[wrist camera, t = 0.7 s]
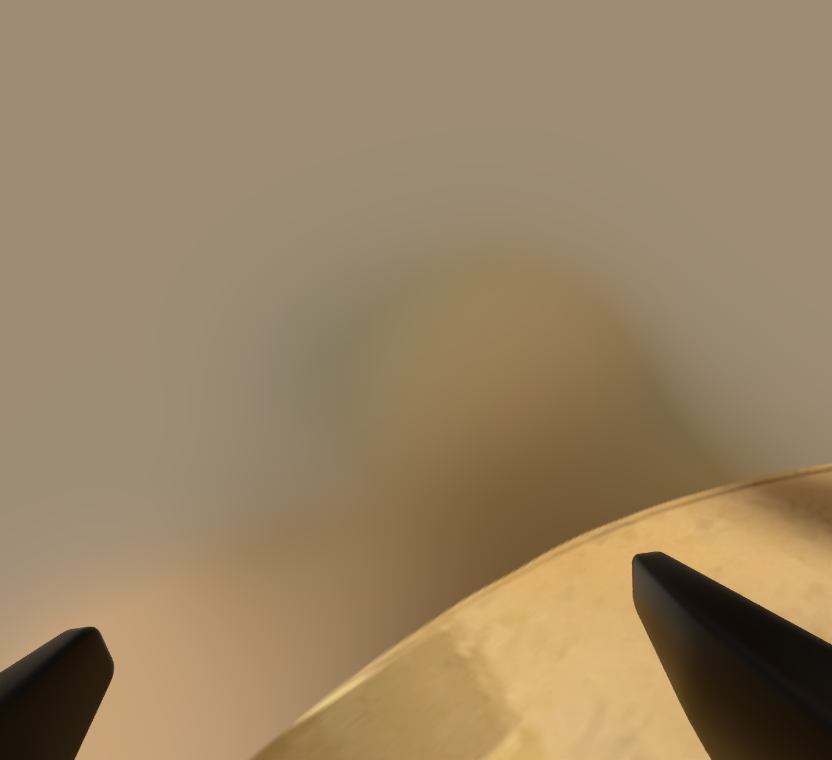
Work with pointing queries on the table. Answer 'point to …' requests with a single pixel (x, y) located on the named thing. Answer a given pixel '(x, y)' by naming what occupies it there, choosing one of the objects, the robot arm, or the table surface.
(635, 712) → the table surface
